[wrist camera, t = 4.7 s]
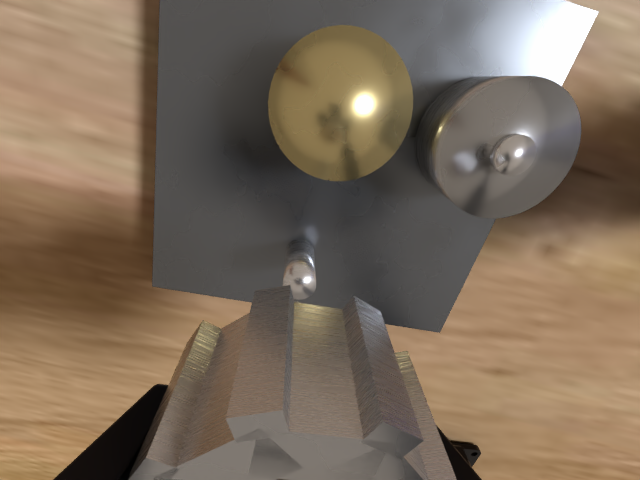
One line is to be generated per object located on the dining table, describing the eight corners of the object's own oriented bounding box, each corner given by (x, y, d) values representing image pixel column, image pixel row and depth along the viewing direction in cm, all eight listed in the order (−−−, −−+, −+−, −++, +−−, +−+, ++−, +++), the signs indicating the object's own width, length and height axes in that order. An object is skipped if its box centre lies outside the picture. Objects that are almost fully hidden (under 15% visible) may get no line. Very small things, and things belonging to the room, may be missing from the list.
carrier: (432, 319, 20) (465, 380, 16) (161, 274, 18) (119, 331, 14) (575, 17, 14) (691, -9, 10) (176, -113, 12) (105, -220, 7)
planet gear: (369, 456, 12) (394, 598, 8) (179, 437, 11) (127, 588, 7) (438, 309, 9) (512, 436, 6) (193, 268, 8) (122, 391, 5)
